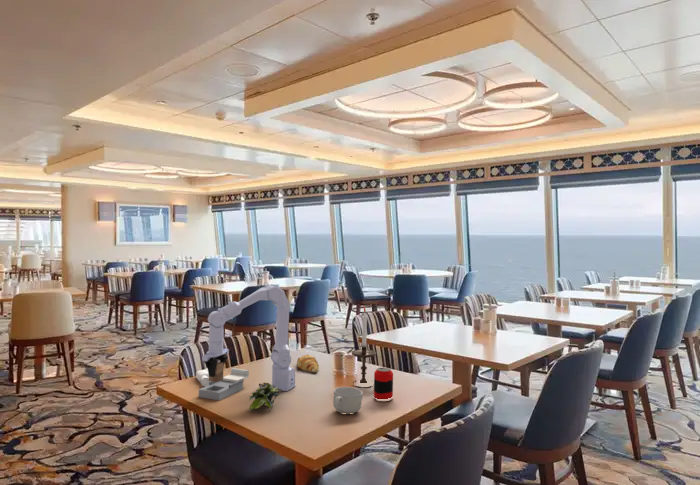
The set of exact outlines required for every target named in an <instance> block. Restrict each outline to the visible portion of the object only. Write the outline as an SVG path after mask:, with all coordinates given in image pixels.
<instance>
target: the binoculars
mask: <svg viewBox="0 0 700 485" xmlns="http://www.w3.org/2000/svg"><path fill="white" fill-rule="evenodd" d="M195 377H196V379H197V381H198V382H199V383H200V384H201V386H202V387H206V386H208V385H209V382H210V381H209V373H208V369H207V367H205V369H201V370H197V371H196V372H195Z"/></svg>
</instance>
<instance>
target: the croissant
mask: <svg viewBox="0 0 700 485" xmlns="http://www.w3.org/2000/svg"><path fill="white" fill-rule="evenodd" d="M296 366H297V368H299V369H300V370H301V371H306V372H310V373H317V372H318V371H319V368H320V365H319V363H318V361H317V359H316V357H315V356H313V355H310V354H305V355H302V356H301V357H298V358H297V361H296Z"/></svg>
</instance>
